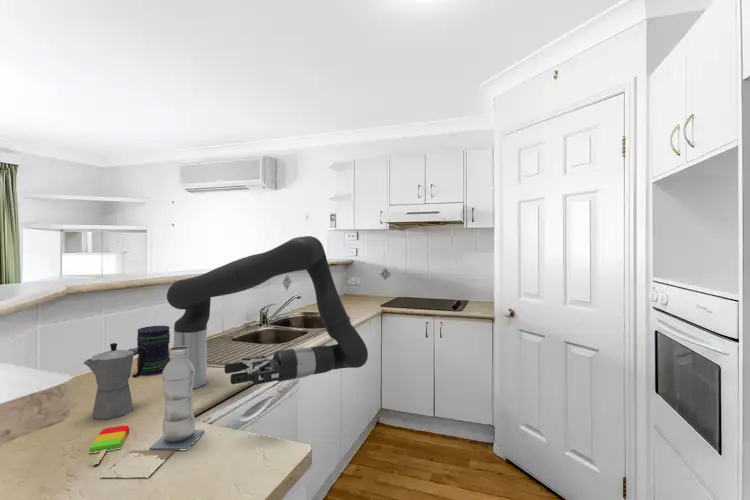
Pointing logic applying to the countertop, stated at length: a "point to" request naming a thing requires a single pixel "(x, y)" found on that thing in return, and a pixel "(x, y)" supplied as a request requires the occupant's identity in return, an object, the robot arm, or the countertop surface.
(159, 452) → the tile
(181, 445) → the slate pad
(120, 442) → the popsicle
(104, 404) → the coffeepot
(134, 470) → the countertop surface
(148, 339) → the storage jar
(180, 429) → the plastic bottle
